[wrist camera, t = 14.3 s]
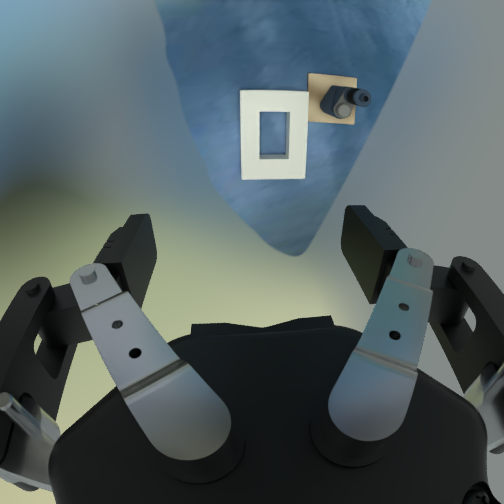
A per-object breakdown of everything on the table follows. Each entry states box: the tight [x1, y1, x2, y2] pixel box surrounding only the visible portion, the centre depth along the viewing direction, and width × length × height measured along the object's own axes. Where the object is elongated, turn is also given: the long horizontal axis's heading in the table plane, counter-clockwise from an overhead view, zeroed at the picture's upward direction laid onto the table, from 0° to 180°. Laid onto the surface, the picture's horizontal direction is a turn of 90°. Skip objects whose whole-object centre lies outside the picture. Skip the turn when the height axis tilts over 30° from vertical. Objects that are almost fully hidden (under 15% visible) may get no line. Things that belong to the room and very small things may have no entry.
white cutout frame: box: [240, 90, 309, 180], centre depth 44 cm, size 14×10×3 cm
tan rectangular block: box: [307, 73, 357, 125], centre depth 43 cm, size 8×8×1 cm
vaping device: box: [320, 85, 371, 119], centre depth 37 cm, size 3×5×12 cm, turn 150°
